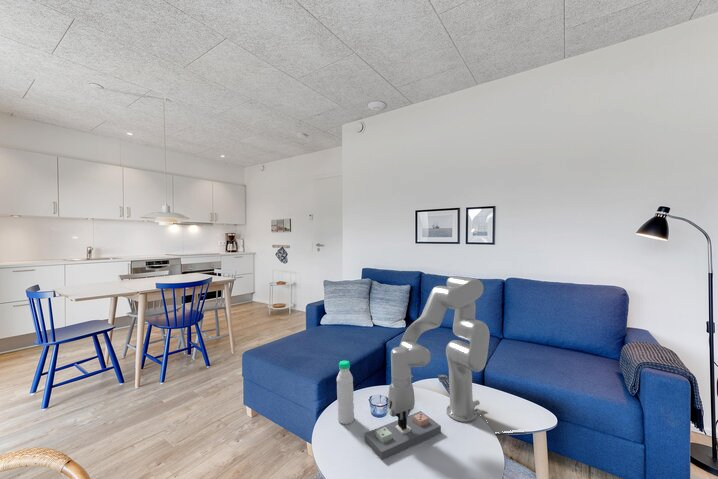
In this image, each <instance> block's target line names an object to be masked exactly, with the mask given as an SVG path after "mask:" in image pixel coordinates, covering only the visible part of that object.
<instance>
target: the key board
mask: <svg viewBox="0 0 718 479" xmlns="http://www.w3.org/2000/svg"><path fill="white" fill-rule="evenodd" d="M419 413H422V414H424V415H425V416H426V417H428V418H429V424H427V425H425V426H422V427H419V426H418V425H417V424H415V423H414V422H413V416H414V415H417V414H419ZM397 425H398V419H397V420H395V421H392V422H390V423H387V424H384V425H382V426H380V427H376V428H375V429H372V430H370V431H367V432H364V442H365V443H366V444H367V446H368V447H370V448H371V450H372V452H374V454H376V456H377V457H378V458H379V460H381V461H384V460H386V459H389V458H390V457H393V456H395V455H397V454H399V453H401V452H404V451H406V450H408V449H410V448H412V447H414V446H416V445H418V444H421V443H423V442H425V441H428V440H430V439H432V438H435V437H436V436H438V435H440V434H442V427H441V425H440V424H439V423H438V422H436V421H435V420H433V418H431V417H429V416H428V415H426V413H424V412H423V411H421V410H419V411H417V412H414V413H412V414H410V415H409V414H408V418H407V425H408V426H409V427H410V428H411V432H408V433H406V434H404V435H401V434H400V433H399V432H398V431H397V430H396V429H395V426H397ZM384 427H386V428H387V429H388V430H389V431H390V432H391V433H392V440H390V441H387V442H385V443H383V444H382V443H381V442H380V441H379V440H378V439H377V438H376V431H377V430H379V429H382V428H384Z"/></svg>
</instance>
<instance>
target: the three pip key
mask: <svg viewBox="0 0 718 479" xmlns="http://www.w3.org/2000/svg"><path fill="white" fill-rule="evenodd" d="M424 414H425V413H424ZM424 414H422V413H419V414H417V415H414V416H413V422H414V423H415V424H417V425H418V426H419V427H422V426H425V425H427V424H429V418H430V417H429V416H428V417H429V418H428V417H426V416H425V415H426V414H425V415H424Z"/></svg>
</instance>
